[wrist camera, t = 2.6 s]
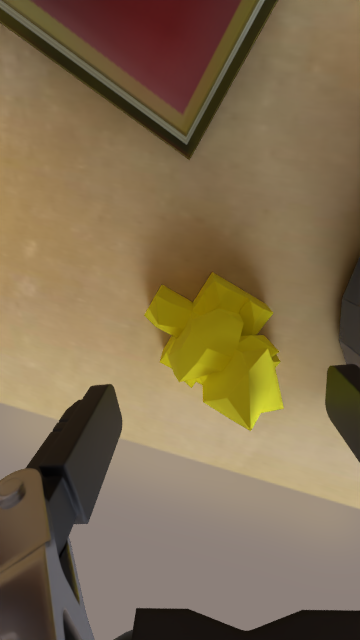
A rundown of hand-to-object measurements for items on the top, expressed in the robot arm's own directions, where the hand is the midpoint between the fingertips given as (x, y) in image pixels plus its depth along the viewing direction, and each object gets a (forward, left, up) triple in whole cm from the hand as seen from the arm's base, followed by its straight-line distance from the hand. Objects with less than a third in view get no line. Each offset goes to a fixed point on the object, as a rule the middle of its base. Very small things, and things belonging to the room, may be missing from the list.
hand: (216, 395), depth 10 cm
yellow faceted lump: (0, 0, -7) cm, 7 cm away
